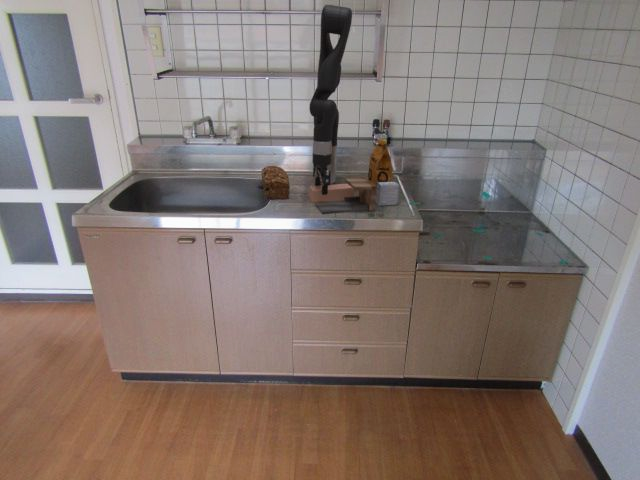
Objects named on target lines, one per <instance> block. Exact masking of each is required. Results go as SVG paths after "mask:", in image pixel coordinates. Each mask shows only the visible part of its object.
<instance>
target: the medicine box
mask: <svg viewBox="0 0 640 480" xmlns="http://www.w3.org/2000/svg"><path fill="white" fill-rule="evenodd" d="M399 189H400V184H399V183H397V182H396V181H391V182H378V183H377V193H376V197H375V204H377V205H378V207H379V206H380V207H381V206H382V207H383V206H396V205H398V200H399V199H398V198H399V191H400V190H399Z"/></svg>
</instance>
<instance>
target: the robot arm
mask: <svg viewBox="0 0 640 480" xmlns="http://www.w3.org/2000/svg"><path fill="white" fill-rule="evenodd" d="M352 19H353V12H352V9H351V8H350V7H346V6H339V5H333V4H325V5H324V6H323V8H322V10H321V16H320V42H319V43H320V44H319V45H320V46H319V47H320V48H319V57H318V59H319V60H318V67H317V81H316V82H317V84H316V89H315V90H314V93H313V95H312V98H311V100H310V102H309V113H310V115H311V116H312V118H313V126H314V127H313V141H312V142H313V143H312V159H311V160H312V165H313V167H312V168H313V169H312V177H313V178H314V186H321V185H322V194H323V195H327V194H328V185H334V183H335V184H336V180H337V179H336V177H337V154H338V149H337V148H338V133H339V122H340V119H339V118H340V111H339V109H338V107H337V103H336V101H334V100H333V99H330V97H331V96H332V94H334V93H335V92H336V90H337V88H338V87H339V85H340V82H341V75H342V60H343V57H344V53H345V50H346V47H347V43H348V39H349V36H350V31H351V27H352V26H351V25H352V21H353V20H352ZM330 34H331V35H339V37H338V40H337V42H336V45H335V47H333V44H332V40H331V35H330Z"/></svg>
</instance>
